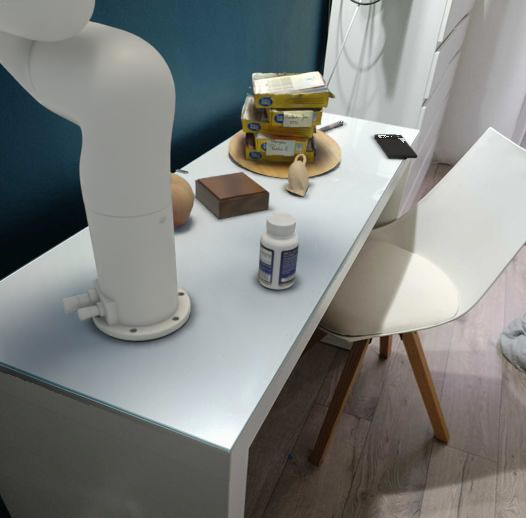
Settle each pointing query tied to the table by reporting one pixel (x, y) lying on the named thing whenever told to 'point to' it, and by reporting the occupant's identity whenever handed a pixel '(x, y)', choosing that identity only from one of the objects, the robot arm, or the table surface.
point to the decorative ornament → (298, 177)
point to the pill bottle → (278, 252)
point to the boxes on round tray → (285, 125)
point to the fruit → (181, 199)
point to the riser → (231, 194)
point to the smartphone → (395, 146)
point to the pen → (331, 126)
